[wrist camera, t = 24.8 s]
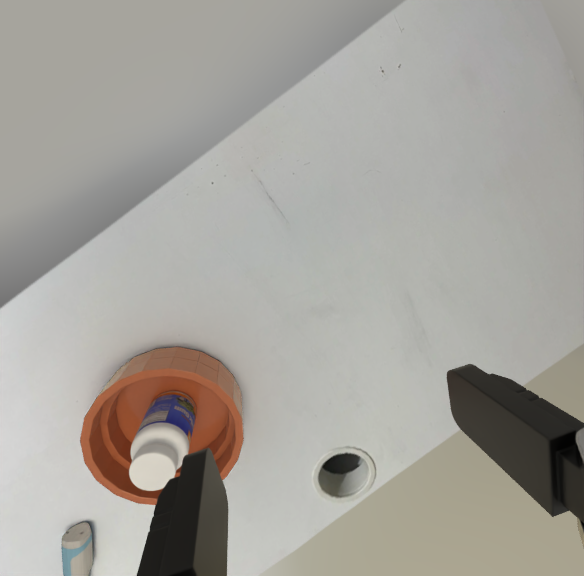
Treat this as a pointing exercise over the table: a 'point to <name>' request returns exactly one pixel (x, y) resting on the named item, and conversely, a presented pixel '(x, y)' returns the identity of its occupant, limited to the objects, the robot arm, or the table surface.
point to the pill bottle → (162, 440)
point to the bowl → (136, 400)
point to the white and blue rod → (77, 550)
